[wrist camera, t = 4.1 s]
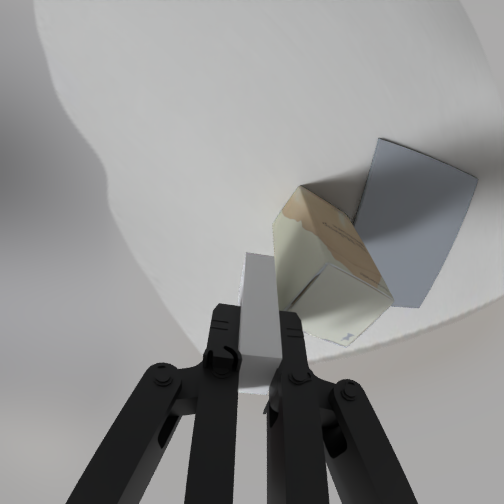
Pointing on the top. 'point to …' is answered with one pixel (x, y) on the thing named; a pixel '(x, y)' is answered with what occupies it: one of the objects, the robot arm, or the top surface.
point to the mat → (411, 218)
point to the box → (326, 271)
